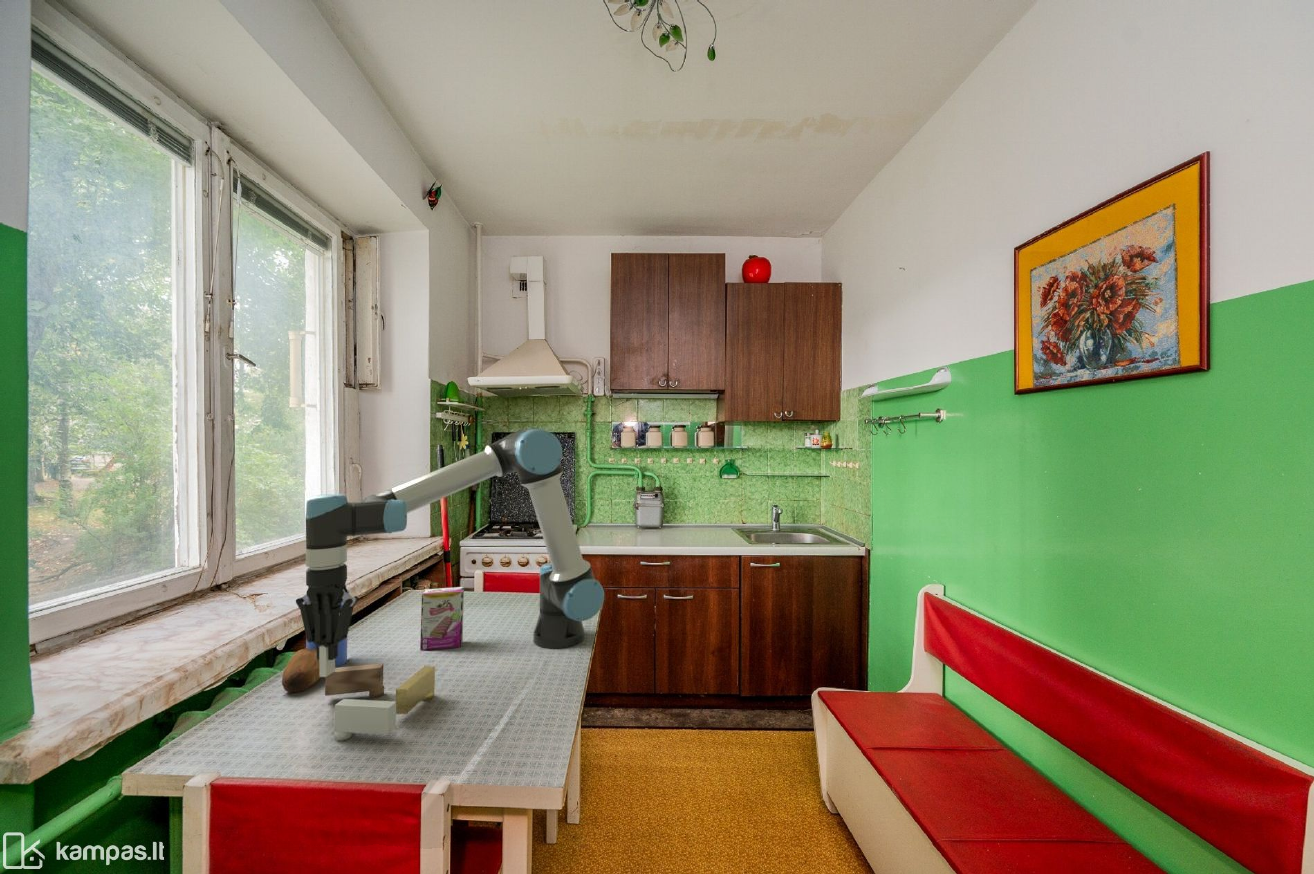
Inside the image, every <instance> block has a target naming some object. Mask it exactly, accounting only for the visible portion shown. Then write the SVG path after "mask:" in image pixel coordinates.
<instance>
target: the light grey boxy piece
mask: <svg viewBox="0 0 1314 874" xmlns="http://www.w3.org/2000/svg"><path fill="white" fill-rule="evenodd" d="M333 719H334V721H333V722H334V726H333V727H334V729H333V731H334V732H333V733H334V737H333V739H334V741H336V742H341V741H346V740H348V739H349V738H351V737H352V736H353V733H357V734H358V733H359V734H375V735H376V734H377V735H389V734H390V733H391V732H393V731H394V730H395V729H396V728H397V714H396V702H395V701H392V700H391V701H390V700H389V701H387V700H371V699H353V698H352V699H351V698H349V699H348V698H343V699H341V700H340V701H338V702H337V703H335V704H334V718H333Z"/></svg>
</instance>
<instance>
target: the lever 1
mask: <svg viewBox="0 0 1314 874" xmlns="http://www.w3.org/2000/svg"><path fill="white" fill-rule="evenodd" d="M324 678H325V683H324V684H325V685H324V687H325V688H324V693H325V694H324V695H325V696H326V697H328V696H335V695H338V696H339V695H345V694H355V693H364V692H365V693H366V692H368V697H369V698H370V699H378V698H381V697H383V696H384V695H385V685H384V662H383V663H375V664H373V663H372V664H361V665H353V666H341V667H340V666H338V667H335V672H333V673H331V674H330V675H328V676H327V677H324Z"/></svg>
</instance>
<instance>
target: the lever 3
mask: <svg viewBox="0 0 1314 874" xmlns="http://www.w3.org/2000/svg"><path fill="white" fill-rule="evenodd" d="M435 677H436V666H431V665H429V666H428V665H424V666H423V667H421V668H420V669H419V670H417V672H416V673H414V674H413V675H412V676H410V677H409V678H408V679H407V680H405V681H404V682H403V683H402V684H400V685H399V686H397V687H396V688H395V701H394V702H396V715H408V714H409V712H410V711H412V710H413V709H414V708H415V707H416V706H417V705H418V704H419V703H421V702H428V701H431V700H433V699H434V698H435V688H436V687H435V683H436V678H435Z"/></svg>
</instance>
